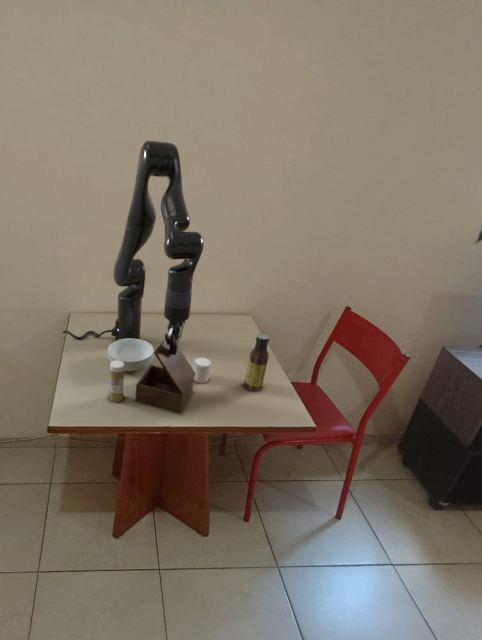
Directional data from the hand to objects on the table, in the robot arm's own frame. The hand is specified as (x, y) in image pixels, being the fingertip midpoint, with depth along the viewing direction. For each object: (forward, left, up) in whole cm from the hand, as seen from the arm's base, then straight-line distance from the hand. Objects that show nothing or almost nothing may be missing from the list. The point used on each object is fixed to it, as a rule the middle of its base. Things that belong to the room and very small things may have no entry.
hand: (172, 353), depth 139 cm
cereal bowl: (-19, +13, -17) cm, 29 cm away
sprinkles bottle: (-15, -8, -17) cm, 24 cm away
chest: (-1, 0, -17) cm, 17 cm away
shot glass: (+7, +16, -17) cm, 24 cm away
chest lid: (+1, 0, -4) cm, 4 cm away
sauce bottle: (+25, +19, -17) cm, 35 cm away
